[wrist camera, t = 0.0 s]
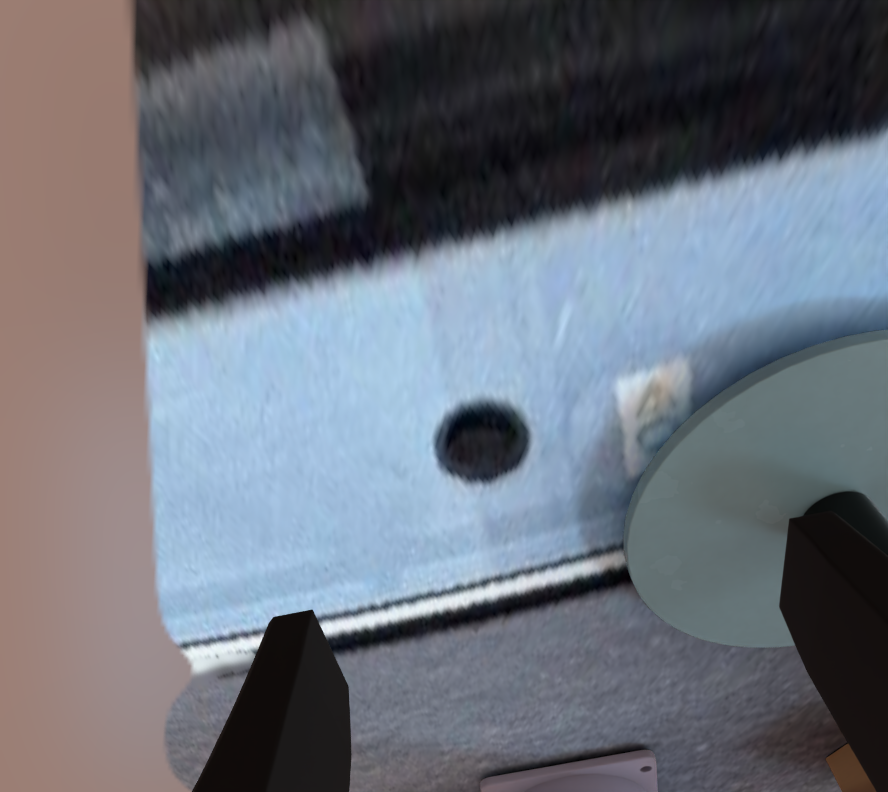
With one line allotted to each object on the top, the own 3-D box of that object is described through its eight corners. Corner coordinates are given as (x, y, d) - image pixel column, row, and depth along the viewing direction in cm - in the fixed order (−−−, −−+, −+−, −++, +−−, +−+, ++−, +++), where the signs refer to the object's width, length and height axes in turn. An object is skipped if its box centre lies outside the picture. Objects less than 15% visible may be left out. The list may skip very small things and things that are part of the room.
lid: (660, 661, 30) (700, 772, 26) (572, 413, 22) (611, 520, 18) (1014, 559, 28) (1112, 664, 24) (1053, 247, 20) (1205, 331, 16)
